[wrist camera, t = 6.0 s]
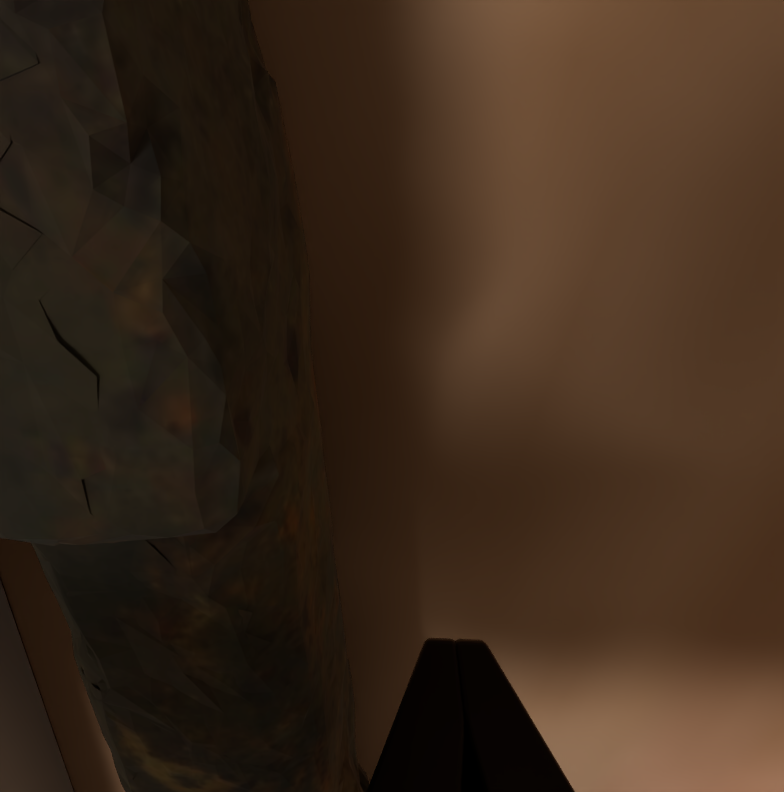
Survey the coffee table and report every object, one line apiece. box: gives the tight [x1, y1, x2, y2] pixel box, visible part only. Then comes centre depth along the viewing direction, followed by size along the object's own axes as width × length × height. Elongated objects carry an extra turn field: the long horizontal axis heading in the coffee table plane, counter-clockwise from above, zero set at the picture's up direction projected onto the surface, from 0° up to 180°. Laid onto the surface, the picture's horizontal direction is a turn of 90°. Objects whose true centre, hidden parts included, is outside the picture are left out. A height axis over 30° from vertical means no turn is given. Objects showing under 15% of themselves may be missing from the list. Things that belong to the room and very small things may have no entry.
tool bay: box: [0, 580, 74, 792], centre depth 9 cm, size 9×24×2 cm, turn 178°
